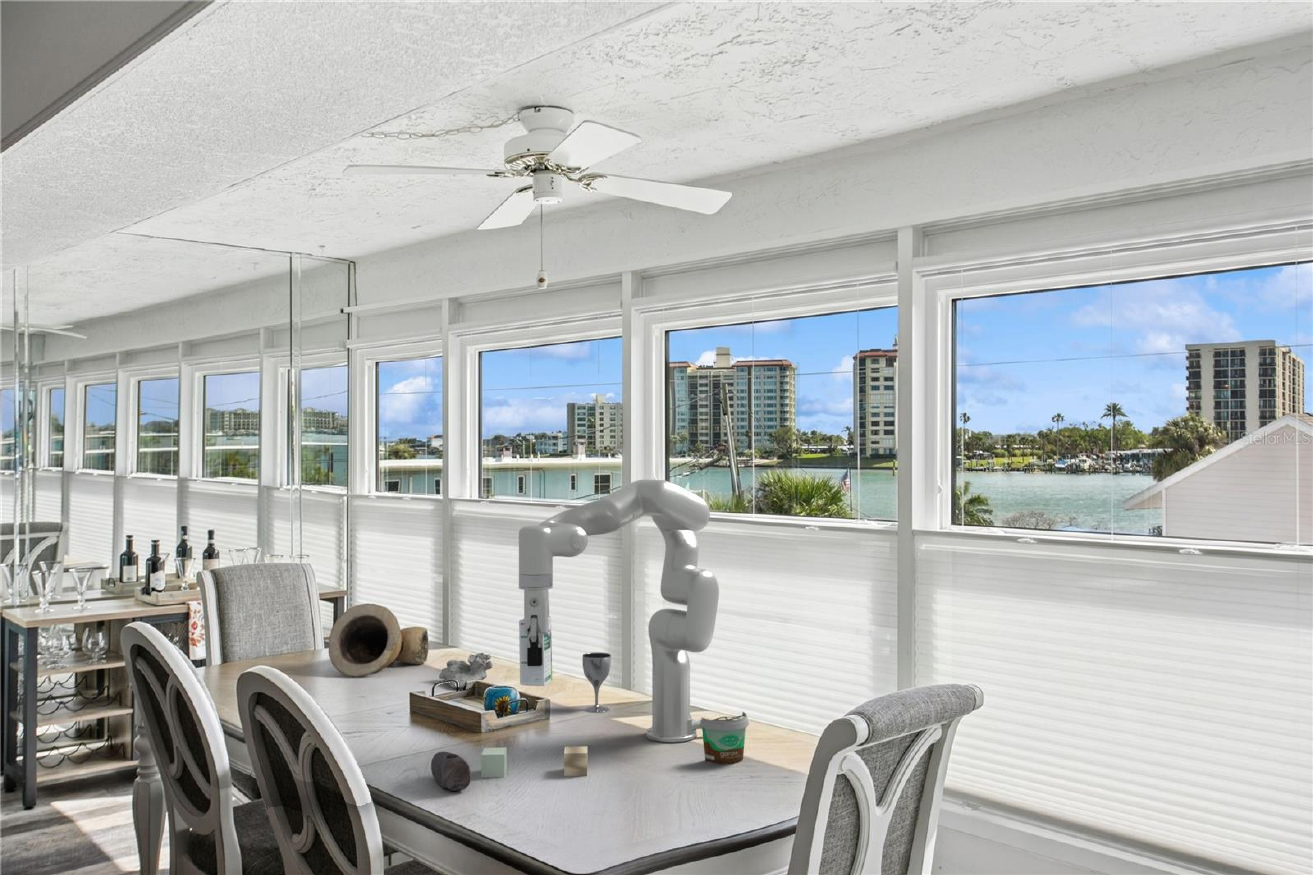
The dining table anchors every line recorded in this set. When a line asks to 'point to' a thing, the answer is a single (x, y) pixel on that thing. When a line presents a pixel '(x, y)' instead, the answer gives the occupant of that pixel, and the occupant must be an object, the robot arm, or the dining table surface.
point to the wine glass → (596, 675)
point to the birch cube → (575, 761)
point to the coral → (467, 669)
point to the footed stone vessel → (374, 641)
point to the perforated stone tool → (450, 771)
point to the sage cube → (493, 762)
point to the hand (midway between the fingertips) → (535, 661)
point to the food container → (724, 739)
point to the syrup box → (543, 672)
